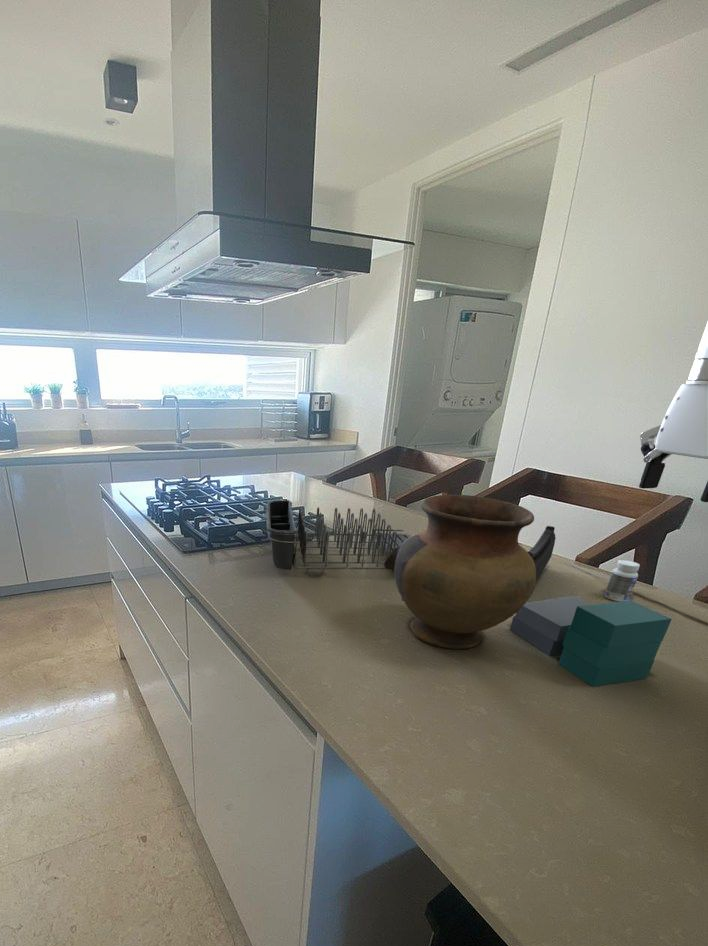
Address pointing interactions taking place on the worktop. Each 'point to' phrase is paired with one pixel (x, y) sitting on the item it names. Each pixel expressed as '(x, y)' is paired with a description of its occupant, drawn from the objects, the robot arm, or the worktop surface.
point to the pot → (464, 569)
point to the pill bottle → (622, 581)
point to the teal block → (620, 624)
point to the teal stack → (606, 660)
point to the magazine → (543, 550)
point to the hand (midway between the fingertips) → (677, 494)
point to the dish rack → (326, 537)
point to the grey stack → (546, 622)
